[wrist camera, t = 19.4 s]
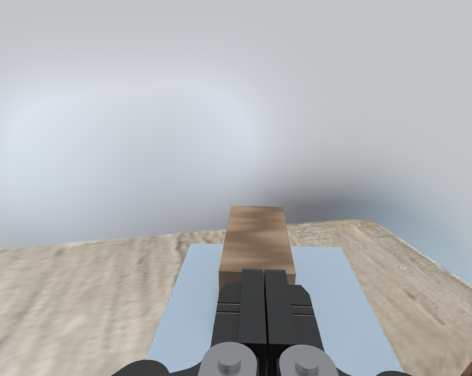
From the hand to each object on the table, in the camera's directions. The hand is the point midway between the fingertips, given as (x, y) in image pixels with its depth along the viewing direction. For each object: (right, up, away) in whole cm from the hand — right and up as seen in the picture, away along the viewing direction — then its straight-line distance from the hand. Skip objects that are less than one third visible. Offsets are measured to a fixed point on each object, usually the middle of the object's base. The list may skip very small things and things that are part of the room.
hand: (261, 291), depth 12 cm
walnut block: (0, -4, +11) cm, 12 cm away
